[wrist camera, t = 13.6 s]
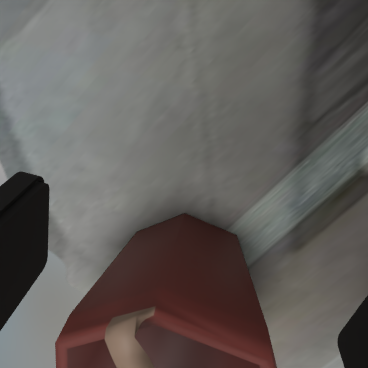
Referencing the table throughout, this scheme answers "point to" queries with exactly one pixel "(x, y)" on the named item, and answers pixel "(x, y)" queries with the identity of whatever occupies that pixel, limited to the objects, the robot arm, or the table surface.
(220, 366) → the bucket
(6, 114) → the table surface
